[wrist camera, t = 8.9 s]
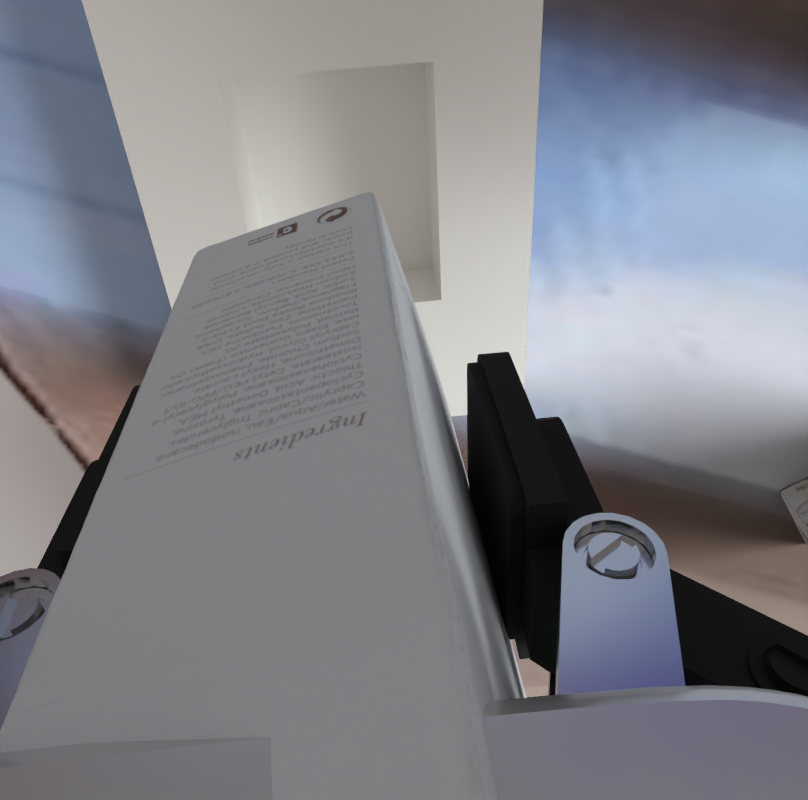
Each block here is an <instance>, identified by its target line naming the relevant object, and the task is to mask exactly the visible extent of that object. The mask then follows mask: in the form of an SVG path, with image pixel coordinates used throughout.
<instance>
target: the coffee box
mask: <svg viewBox="0 0 808 800" xmlns="http://www.w3.org/2000/svg"><path fill="white" fill-rule="evenodd" d="M781 496H782V498H783V500H784V502H785V504H786V506H787V508H788V510H789V512H790V514H791V516H792V518H793V520H794V522H795V524H796V526H797V528H798V530H799V532H800V533H801V535H802V537H803V539H804V541H805V543H806V545H807V546H808V478H807V479H805V480H803V481H801V482H799V483H796V484H794V485H792V486H790V487H788V488H786V489H784V490H782V491H781Z"/></svg>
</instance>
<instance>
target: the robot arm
mask: <svg viewBox="0 0 808 800" xmlns="http://www.w3.org/2000/svg"><path fill="white" fill-rule="evenodd" d="M140 386H141V385H137V386H135V387H134V388H133V389H132V391H131V394H130V396H129V398H128V400H127V402H126V404H125V406H124V408H123V410H122V412H121V414H120V416H119V418H118V420H117V422H116V425H115V427H114V429H113V431H112V433H111V435H110V437H109V439H108V441H107V443H106V445H105V447H104V449H103V451H102V453H101V456H100V458H99V460H95V461H93V462H92V463H91V464H90V465H89V467H88V468H87V470H86V472H85V474H84V476H83V478H82V480H81V482H80V484H79V486H78V488H77V490H76V492H75V494H74V496H73V498H72V500H71V502H70V504H69V506H68V508H67V510H66V512H65V514H64V516H63V518H62V520H61V522H60V524H59V526H58V528H57V530H56V532H55V534H54V536H53V538H52V540H51V542H50V544H49V546H48V548H47V550H46V552H45V554H44V556H43V558H42V560H41V562H40V564H39V566H38V568H37V569H35V568H34V569H33V568H29V569H24V570H18V571H14V572H11V573H9V574H6V575H3V576H1V577H0V729H1V727H2V724H3V722H4V720H5V717H6V715H7V713H8V710H9V708H10V705H11V703H12V701H13V699H14V696H15V694H16V691H17V688H18V686H19V683H20V680H21V678H22V675H23V672H24V669H25V667H26V664H27V662H28V659H29V657H30V654H31V652H32V649H33V647H34V644H35V642H36V639H37V637H38V634H39V632H40V629H41V627H42V624H43V622H44V619H45V617H46V614H47V612H48V609H49V607H50V604H51V602H52V599H53V597H54V595H55V592H56V590H57V588H58V586H59V583H60V581H61V579H62V576H63V574H64V572H65V569H66V567H67V564H68V562H69V559H70V556H71V554H72V551H73V549H74V546H75V544H76V542H77V539H78V537H79V535H80V532H81V530H82V528H83V525H84V522H85V520H86V517H87V515H88V513H89V510H90V507H91V505H92V502H93V500H94V497H95V494H96V492H97V490H98V488H99V486H100V484H101V482H102V479H103V477H104V474H105V472H106V469H107V467H108V464H109V462H110V459H111V457H112V454H113V452H114V449H115V447H116V445H117V442H118V440H119V438H120V435H121V432H122V430H123V427H124V425H125V422H126V420H127V418H128V415H129V413H130V411H131V408H132V406H133V403H134V400H135V398H136V395H137V393H138V390H139V388H140ZM467 433H468V482H469V490H470V494H471V497H472V501H473V505H474V509H475V513H476V517H477V520H478V524H479V528H480V532H481V536H482V540H483V543H484V547H485V551H486V555H487V559H488V563H489V567H490V571H491V575H492V578H493V582H494V586H495V590H496V594H497V598H498V602H499V606H500V609H501V613H502V617H503V621H504V625H505V629H506V632H507V635H508V638H509V639H515V642H516V646H517V650H518V654H519V658H520V659H525V658H530V660H532V661H533V662H535V663H537V664H538V665H540V666H541V667H543V668H544V669H546V670H547V671H549V680H548V696H539V697H528V698H518V699H508V700H498V701H488V702H487V705H486V707H485V711H484V715H483V719H484V725H485V730H486V736H487V741H488V747H489V753H490V758H491V764H492V769H493V775H494V780H495V786H496V792H497V797H498V800H808V636H807V635H805V634H803V633H801V632H799V631H797V630H795V629H793V628H790V627H788V626H786V625H784V624H782V623H780V622H778V621H776V620H774V619H772V618H770V617H768V616H766V615H764V614H762V613H760V612H758V611H756V610H753V609H751V608H749V607H747V606H745V605H743V604H741V603H739V602H737V601H735V600H733V599H731V598H729V597H727V596H725V595H723V594H721V593H719V592H716V591H714V590H712V589H710V588H708V587H706V586H704V585H702V584H700V583H698V582H696V581H694V580H692V579H690V578H688V577H686V576H684V575H682V574H680V573H677V572H675V571H673V570H671V569H670V568H669V561H668V554H667V551H666V548H665V546H664V543H663V541H662V540H661V539H660V538H659V536H658V535H657V534H656V532H655V531H653V530H652V529H651V528H649V527H648V526H647V525H645V524H644V523H642V522H640V521H638V520H636V519H633V518H631V517H629V516H625V515H620V514H615V513H604V511H603V509H602V507H601V505H600V503H599V500H598V498H597V496H596V494H595V492H594V489H593V487H592V485H591V483H590V481H589V479H588V476H587V474H586V472H585V470H584V468H583V465H582V463H581V461H580V459H579V457H578V454H577V452H576V450H575V448H574V446H573V444H572V441H571V439H570V437H569V435H568V433H567V430H566V428H565V426H564V424H563V422H562V420H561V419H560V418H559V417H550V418H539V419H536V418H535V415H534V413H533V410H532V408H531V405H530V403H529V400H528V398H527V395H526V393H525V390H524V388H523V385H522V383H521V380H520V378H519V375H518V373H517V371H516V368H515V366H514V363H513V361H512V358H511V356H510V354H509V352H498V353H487V354H478V358H477V362H474V363H468V364H467ZM0 800H272V766H271V738H239V739H191V740H151V741H127V742H106V743H87V744H76V745H66V746H57V747H48V748H39V749H30V750H21V751H12V752H4V753H0Z"/></svg>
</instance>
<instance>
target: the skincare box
mask: <svg viewBox="0 0 808 800" xmlns="http://www.w3.org/2000/svg"><path fill="white" fill-rule="evenodd" d="M518 698H526V695H525V691H524V687H523V683H522V680H521V676H520V672H519V668H518V665H517V661H516V657H515V654H514V650H513V646H512V642H511V639H509V638H508V635H507V632H506V629H505V625H504V621H503V617H502V613H501V609H500V606H499V602H498V598H497V594H496V590H495V586H494V582H493V578H492V575H491V571H490V567H489V563H488V559H487V555H486V551H485V547H484V543H483V540H482V536H481V532H480V528H479V524H478V520H477V517H476V513H475V509H474V505H473V501H472V497H471V494H470V490H469V482H468V478H467V475H466V471H465V467H464V463H463V460H462V456H461V452H460V448H459V444H458V441H457V437H456V433H455V429H454V425H453V422H452V418H451V415H450V411H449V407H448V404H447V400H446V397H445V394H444V391H443V388H442V385H441V382H440V378H439V375H438V372H437V369H436V366H435V363H434V360H433V357H432V354H431V351H430V348H429V345H428V342H427V339H426V336H425V333H424V330H423V327H422V324H421V321H420V318H419V315H418V312H417V309H416V306H415V303H414V300H413V297H412V294H411V292H410V289H409V286H408V283H407V280H406V277H405V274H404V272H403V269H402V266H401V263H400V260H399V258H398V255H397V252H396V249H395V246H394V243H393V240H392V238H391V235H390V232H389V229H388V226H387V223H386V220H385V217H384V215H383V212H382V209H381V206H380V204H379V201H378V199H377V197H376V196H375V195H374V194H373V193H370V192H367V193H362V194H359V195H356V196H353V197H351V198H348V199H345V200H342V201H339V202H336V203H333V204H330V205H328V206H325V207H322V208H319V209H315V210H312V211H309V212H306V213H304V214H301V215H298V216H295V217H292V218H289V219H287V220H284V221H281V222H278V223H275V224H272V225H269V226H266V227H263V228H260V229H257V230H254V231H251V232H248V233H245V234H242V235H240V236H237V237H234V238H231V239H228V240H226V241H223V242H220V243H217V244H214V245H210V246H207V247H205V248H203V249H201V250H199V251H198V252H197V253H196V255H195V256H194V258H193V260H192V262H191V265H190V267H189V270H188V272H187V275H186V277H185V279H184V282H183V284H182V287H181V289H180V292H179V294H178V296H177V299H176V301H175V303H174V305H173V308H172V311H171V313H170V315H169V318H168V320H167V323H166V325H165V328H164V330H163V332H162V335H161V337H160V340H159V343H158V345H157V348H156V350H155V352H154V355H153V357H152V360H151V362H150V364H149V367H148V369H147V372H146V374H145V377H144V379H143V381H142V384H141V386H140V388H139V390H138V393H137V395H136V398H135V400H134V403H133V406H132V408H131V411H130V413H129V415H128V418H127V420H126V422H125V425H124V427H123V430H122V432H121V435H120V438H119V440H118V442H117V445H116V447H115V449H114V452H113V454H112V457H111V459H110V462H109V464H108V467H107V469H106V472H105V474H104V477H103V479H102V482H101V484H100V486H99V488H98V490H97V492H96V494H95V497H94V500H93V502H92V505H91V507H90V510H89V513H88V515H87V517H86V520H85V522H84V525H83V528H82V530H81V532H80V535H79V537H78V539H77V542H76V544H75V546H74V549H73V551H72V554H71V556H70V559H69V562H68V564H67V567H66V569H65V572H64V574H63V576H62V579H61V581H60V583H59V586H58V588H57V590H56V592H55V595H54V597H53V599H52V602H51V604H50V607H49V609H48V612H47V614H46V617H45V619H44V622H43V624H42V627H41V629H40V632H39V634H38V637H37V639H36V642H35V644H34V647H33V649H32V652H31V654H30V657H29V659H28V662H27V664H26V667H25V669H24V672H23V675H22V678H21V680H20V683H19V686H18V688H17V691H16V694H15V696H14V699H13V701H12V703H11V705H10V708H9V710H8V713H7V715H6V717H5V720H4V722H3V724H2V727H1V729H0V753H4V752H12V751H21V750H30V749H39V748H48V747H57V746H66V745H76V744H87V743H106V742H127V741H151V740H191V739H239V738H271V766H272V800H498V797H497V792H496V786H495V780H494V775H493V769H492V764H491V758H490V753H489V747H488V741H487V736H486V730H485V725H484V719H483V715H484V711H485V707H486V705H487V702H488V701H498V700H508V699H518Z"/></svg>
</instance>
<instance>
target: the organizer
mask: <svg viewBox="0 0 808 800" xmlns="http://www.w3.org/2000/svg"><path fill="white" fill-rule="evenodd" d="M82 3H83V7H84V10H85V14H86V17H87V21H88V24H89V27H90V31H91V34H92V38H93V41H94V45H95V48H96V51H97V55H98V58H99V62H100V65H101V69H102V72H103V75H104V79H105V82H106V86H107V89H108V93H109V96H110V100H111V103H112V106H113V110H114V113H115V117H116V120H117V124H118V127H119V130H120V134H121V137H122V141H123V144H124V148H125V151H126V154H127V158H128V161H129V165H130V168H131V172H132V175H133V178H134V182H135V185H136V189H137V192H138V196H139V199H140V202H141V206H142V209H143V213H144V216H145V220H146V223H147V226H148V230H149V233H150V237H151V240H152V244H153V247H154V250H155V254H156V257H157V261H158V264H159V268H160V271H161V274H162V278H163V281H164V285H165V288H166V292H167V295H168V298H169V302H170V305H171V309H172V308H173V305H174V303H175V301H176V299H177V296H178V294H179V292H180V289H181V287H182V284H183V282H184V279H185V277H186V275H187V272H188V270H189V267H190V265H191V262H192V260H193V258H194V256H195V255H196V253H197V252H198V251H199V250H201V249H203V248H205V247H207V246H210V245H214V244H217V243H220V242H223V241H226V240H228V239H231V238H234V237H237V236H240V235H242V234H245V233H248V232H251V231H254V230H257V229H260V228H263V227H266V226H269V225H272V224H275V223H278V222H281V221H284V220H287V219H289V218H292V217H295V216H298V215H301V214H304V213H306V212H309V211H312V210H315V209H319V208H322V207H325V206H328V205H330V204H333V203H336V202H339V201H342V200H345V199H348V198H351V197H353V196H356V195H359V194H362V193H367V192H370V193H373V194H374V195H375V196H376V197H377V199H378V201H379V204H380V206H381V209H382V212H383V215H384V217H385V220H386V223H387V226H388V229H389V232H390V235H391V238H392V240H393V243H394V246H395V249H396V252H397V255H398V258H399V260H400V263H401V266H402V269H403V272H404V274H405V277H406V280H407V283H408V286H409V289H410V292H411V294H412V297H413V300H414V303H415V306H416V309H417V312H418V315H419V318H420V321H421V324H422V327H423V330H424V333H425V336H426V339H427V342H428V345H429V348H430V351H431V354H432V357H433V360H434V363H435V366H436V369H437V372H438V375H439V378H440V382H441V385H442V388H443V391H444V394H445V397H446V400H447V404H448V407H449V411H450V415H451V416H461V415H467V364H468V363H474V362H477V358H478V354H487V353H498V352H509V354H510V356H511V358H512V361H513V363H514V366H515V368H516V371H517V373H518V375H519V378H520V380H521V383H522V385H523V388H524V382H525V362H526V341H527V321H528V301H529V281H530V261H531V241H532V221H533V200H534V180H535V160H536V140H537V120H538V100H539V79H540V59H541V39H542V19H543V0H82Z"/></svg>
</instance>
